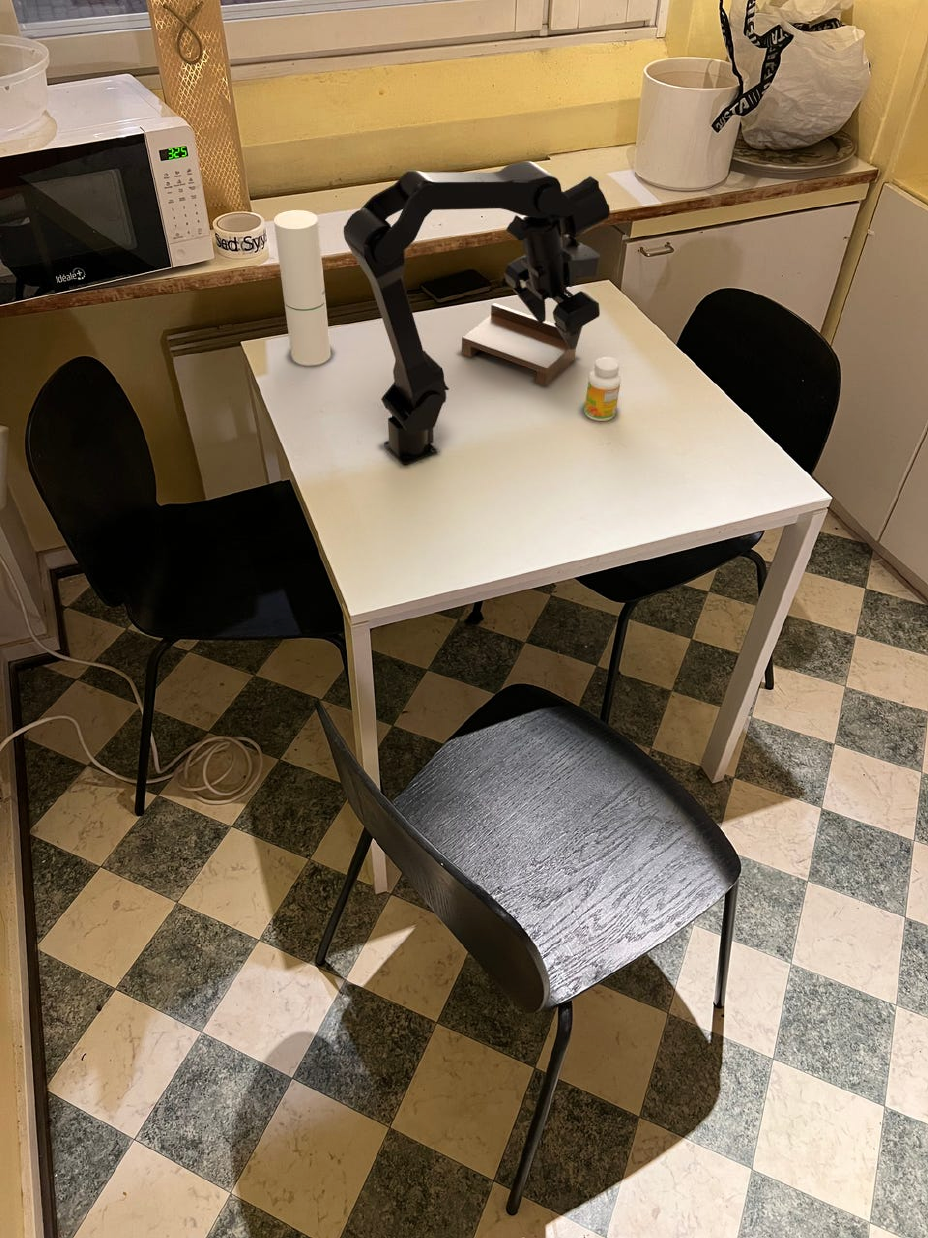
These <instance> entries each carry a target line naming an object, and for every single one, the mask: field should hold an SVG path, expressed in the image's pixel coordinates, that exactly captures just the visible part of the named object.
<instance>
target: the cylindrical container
mask: <svg viewBox="0 0 928 1238" xmlns="http://www.w3.org/2000/svg"><path fill="white" fill-rule="evenodd" d="M273 223H274V233H275V240H276V246H277V255H278V263H279V270H280V271H279V272H280V278H281V286H282V294H283V301H284V309H285V317H286V324H287V331H288V340H289V347H290V354H291V359H292V361H294V363H296V364H297V365H302V366H308V367H309V366H319V365H322V364H324V363H326V362H328V360H329V359H330V358H331V353H332V352H331V344H330V343H331V342H330V333H329V321H328V311H327V301H326V291H325V281H324V268H323V259H322V248H321V238H320V237H321V236H320V229H319V218H318V216H317V215H316V213H314V212H311V211H309V210H303V209H293V210H286V211H283V212H280V213H278V214H277V215H275V216H274V218H273Z"/></svg>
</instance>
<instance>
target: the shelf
mask: <svg viewBox="0 0 928 1238" xmlns="http://www.w3.org/2000/svg"><path fill="white" fill-rule="evenodd" d="M554 323H555V322H550V321H547V320H545V321H544V322H543V323H539V322H538V321H537V319H536V318H535V317H534V315H531V314H528V313H526V312H525V313H524V312H522V311H520V310H516V309H514V308H510V307H507V306H504V305H501V304H499V303H496V302H494V303H492V304H491V307H490V315H489V316H488V317H486V318H485V319H484V320H482V321H481V322H480V323H479V324H478V325H476V326H475V327H474V328H472V329H471V330H470V331H468V332H467V333H466V334H464V335H463V336H462V337H461V355H463V356H465V357H467V358H472V357H473V356H474V355H475V354H477V353H478V352H479V351H481V352H485V353H488V354H490V355H493V356H494V357H495V356H496V357H499V358H501V359H505V360H507V361H510V362H512V363H514V364H517V365H520V366H523V367H525V368H528V369H531V370H533V371H536V378H535V379H536V380H535V382H536V383H537V384H539V385H543V386H547V385H548V384H549V383H550V382H551V381H552V380H553V379H554V378H556V377H557V376H558V375H559V374H560V373H561V372H562V371H563V370H564V369H566V368H567V367H568V365H570V364H571V363H572V362H574V360H575V359H576V354H577V353H576V352H577V347H576V348H574V349H573V350H570V349H569V347H568V346H567V344H566V342H565V341H564V339H563V338H562V336H561V334H560V333H559V331H558V330H557V328H556V326H555V325H554Z"/></svg>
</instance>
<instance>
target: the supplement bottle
mask: <svg viewBox="0 0 928 1238" xmlns="http://www.w3.org/2000/svg"><path fill="white" fill-rule="evenodd" d="M619 368H620V362H619V361H618V360H617V359H616V358H613V357H610V356H602V357H599V358H597V359H596V360H595V362H594V369H593V370H592V371H591V372H590V373H589V375H588V380H587V388H586V393H585V394H586V395H585V401H584V408H583V411H584V415H586V417H588V418H589V419H591V420H593V421H597V422H605V421H609V420H611V419H613V418H614V417H615V415H616V410H617V406H618V401H619V394H620V389H621V383H622V382H621V381H622V378H621V375H620V373H619V370H620V369H619Z"/></svg>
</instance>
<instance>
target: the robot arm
mask: <svg viewBox="0 0 928 1238" xmlns="http://www.w3.org/2000/svg"><path fill="white" fill-rule="evenodd" d="M599 182H600V181H598V179H596V178H594V177H593V176H591V175H589V176H587V177H585V178H584V179H582V180H581V181H580V182H578V184H575V185H573V186H572V187H570V188H568V189H566V190H564V191H563V190H562V185H561V182H560V181H559V178H557V176H554V175H553V174H551V173H550V172H548V171H547V170H545V169H544V168H542V167H541V166H539V164H536V163H534V162H533V161H529V160H528V161H521V162H517V163H511V164H507V165H506V166H505V167H503V168H501V169H500V170H497V171H493V172H492V171H491V172H422V171H419V170H409V171H407V172H405V173H404V174H402V176H401V177H400V178H399V179H398V180H397V181H396V182H395V183H394V184H392V185H390V186H389V187H387V188H385V189H383V190H381V191H380V192H378V193H376V194H374V195H373V196H371V197H370V198H369V199H368V200H367V201H366V202H365V204H364V205H363V206H362V207H361V208H360V209H357V210H356V211H355V212H354V213H352V214H351V215H350V216H349V217H348V219H347V221H346V223H345V225H344V226H343V237H344V241H345V242H346V245H347V246H348V248H349V250H350V251H351V253H352V255H353V257H354V259H355V260H356V261H357V263H358V265H359V266H360V268H361V269H362V271H363V273H364V274H365V275H366V277H367V278H368V280H369V283H370V285H371V288H372V291H373V295H374V298H375V301H376V303H377V307H378V310H379V313H380V317H381V319H382V322H383V325H384V329H385V331H386V335H387V338H388V340H389V343H390V346H391V349H392V353H393V356H394V360H395V362H394V364H393V365H394V366H393V369H392V374H393V383H392V384H391V385H390V386H389V388H388V389H387V391H386V392H385V393H384V394H383V396H382V397H381V399H380V400H381V402H382V404H383V406H384V408H385V409H386V410H387V411H388V412H389V413H390V414H391V417H388V418H387V429H388V440H387V441H384V443H383V446H384V448H385V449H386V450H387V451H388V452H390V453H391V454H392V455H393V456H394V458H396V460H397V461H399V462H400V463H401V464H402V465H404V466H407V465H410V464H412V463H414V462H417V461H420V460H422V459H424V458H427V457H429V456H432V455H434V454H437V452H438V451H437V450H438V449H437V448H436V447H435V446H434V445H433V443H434V428H435V427H436V425H437V422H438V418H439V415H440V413H441V410H442V407H443V405H444V404H445V403H446V401H447V391H449V390H450V388H449V387H448V386H447V384H446V382H445V372H444V370H443V369H444V368H443V367H442V366H440V364H439V363H438V362H437V361H436V360H435V359H434V358H433V357H432V356H431V355H430V353H428V352H427V351H426V350H424V348H423V345H422V341H421V338H420V335H419V330H418V328H417V325H416V321H415V317H414V314H413V310H412V307H411V304H410V300H409V297H408V294H407V290H406V288H405V284H404V279H403V275H404V271H405V266H406V256H405V250H406V249H407V248H408V247H410V245H411V244H412V243H413V242H414V241H415V239H417V236H418V233H419V232H420V229H421V227H422V225H423V224H424V221H425V219H426V218H427V217H428V216H429V215H430V214H431V212H432V211H447V210H488V209H489V210H490V209H493V210H495V209H501V210H506V211H509V212H511V213H515V215H514V217H513V219H512V221H511V222H510V223H508V226H507V227H506V232H507V233H508V234H510V235H511V236H512V237H514V238H515V240H517V241H518V242H522V243H523V250H524V255H523V256H521V257H519V258H517V259H515V260H513V261H512V262H510V263H508V264H507V265H506V268H505V269H504V272H503V273H504V278H505V282H506V283H507V284H508V285H509V286H510V288H511V290H513V292H514V293H515V294H516V296H517V297H518V298H519V299H520V300H521V301H522V303H523V304H524V305H525V307H526V308H527V309H528V311H529V312H530V313H531V314H532V316H534V317H535V318H536V319H537V321H538V322H539V323H543V322H544V321H547V319H546V317H547V315H546V300H547V299H552V300H553V301H554V302H556V303H557V304H556V306H554V309H553V311H552V317H553V320H554V322H553V323H554V325H555V326H556V328H557V330H558V331H559V333H560V334H561V336H562V338H563V339H564V341H565V342H566V344H567V346H568V347H569V349H570V350H573V349H574V348H576V349H577V347H578V344H579V340H580V336H581V333H582V330H583V327H584V326H586V325H587V324H589V323H590V322H592V321H595V319H598V318H599V317H600V315H601V309H600V303H599V302H598V301H597V300H595V299H594V298H593V297H592V296H591V295H589V294H588V293H587V292H584V291H582V290H580V291H578V292H576V293H574V294H573V293H572V292H570V291H569V290H568V287H569V288H573V287H574V286H576V285H577V284H578V282H577V280H578V279H585V278H596V277H597V276H598V271H599V266H600V261H601V254H600V253H599V252H597V251H595V250H594V249H593V248H591V247H590V246H588V245H586V244H584V243H582V242H579V240H578V237H579V236H581V235H582V234H585V233H587V232H588V231H590V230H592V229H594V228H596V227H598V226H599V225H601V224H603V223H605V222H606V221H608V220H609V218H610V215H611V213H610V212H611V211H610V209H611V208H610V205H609V203H608V201H607V198H606V197H605V194H604V192H603V191H602V189H601V187H600V183H599ZM400 211H401V212H400ZM399 212H400V214H399V217H398V219H397V220H396V221H395V222H394V223H393V224H391V223H390V222H389V221H387V219H388V218H389V217H391V216H393V215H395V214H397V213H399ZM519 215H520V216H519ZM562 234H563V237H562Z"/></svg>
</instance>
